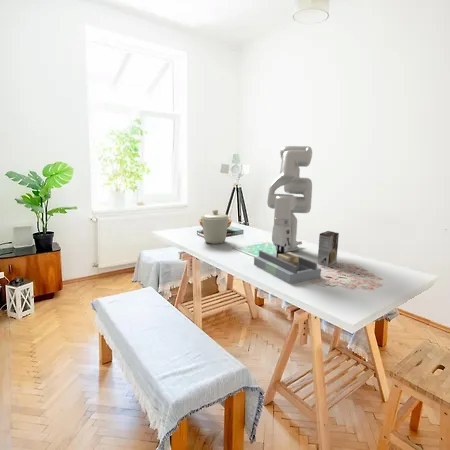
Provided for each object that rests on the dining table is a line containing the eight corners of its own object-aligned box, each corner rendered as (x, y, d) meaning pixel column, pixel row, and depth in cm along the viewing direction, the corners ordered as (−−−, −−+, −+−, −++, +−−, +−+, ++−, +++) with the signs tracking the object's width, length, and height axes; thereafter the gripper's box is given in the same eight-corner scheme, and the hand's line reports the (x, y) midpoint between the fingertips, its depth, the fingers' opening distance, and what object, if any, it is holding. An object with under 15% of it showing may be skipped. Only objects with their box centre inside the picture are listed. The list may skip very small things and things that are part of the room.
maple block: (288, 260, 158) (289, 252, 158) (298, 264, 152) (299, 256, 152) (277, 262, 155) (277, 254, 154) (286, 266, 149) (287, 258, 148)
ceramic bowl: (240, 232, 235) (240, 221, 233) (212, 236, 221) (212, 225, 219) (217, 225, 258) (217, 215, 257) (191, 228, 244) (191, 218, 243)
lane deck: (282, 260, 172) (283, 247, 170) (320, 277, 147) (321, 262, 146) (254, 264, 163) (254, 251, 162) (289, 283, 139) (290, 268, 138)
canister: (226, 246, 196) (227, 212, 192) (197, 244, 199) (197, 211, 195) (230, 239, 214) (231, 208, 210) (204, 237, 217) (204, 206, 213)
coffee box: (325, 260, 173) (327, 230, 170) (336, 262, 169) (339, 232, 166) (316, 263, 167) (319, 233, 164) (328, 266, 162) (330, 235, 159)
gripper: (298, 224, 150) (295, 261, 154) (278, 218, 163) (276, 253, 167) (285, 225, 147) (283, 263, 150) (266, 219, 160) (264, 255, 163)
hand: (279, 258), depth 158 cm, fingers closed
